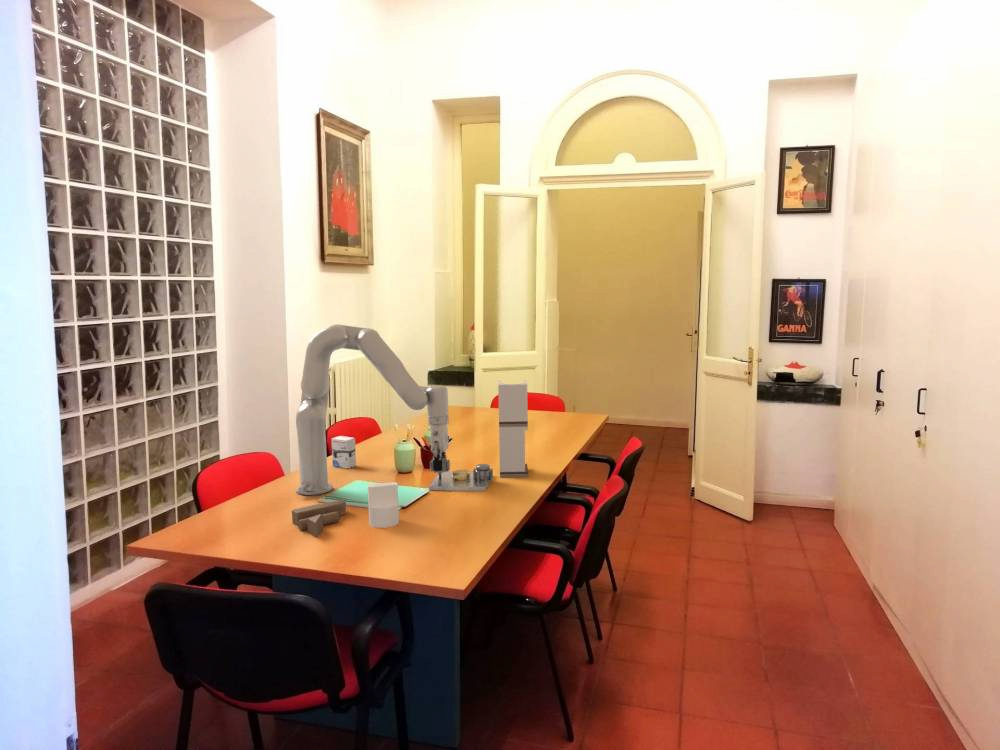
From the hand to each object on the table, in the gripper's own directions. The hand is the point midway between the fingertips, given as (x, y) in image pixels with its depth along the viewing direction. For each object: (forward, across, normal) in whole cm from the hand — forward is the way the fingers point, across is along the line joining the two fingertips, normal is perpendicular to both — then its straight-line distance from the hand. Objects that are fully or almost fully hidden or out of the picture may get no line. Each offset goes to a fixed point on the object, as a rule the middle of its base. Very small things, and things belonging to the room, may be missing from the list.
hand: (439, 467), depth 254 cm
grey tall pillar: (+6, +14, -26) cm, 30 cm away
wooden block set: (+6, -46, +26) cm, 53 cm away
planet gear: (+1, 0, 0) cm, 1 cm away
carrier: (+6, 0, -8) cm, 10 cm away
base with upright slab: (+6, -44, +9) cm, 45 cm away
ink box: (+6, +21, +43) cm, 48 cm away
